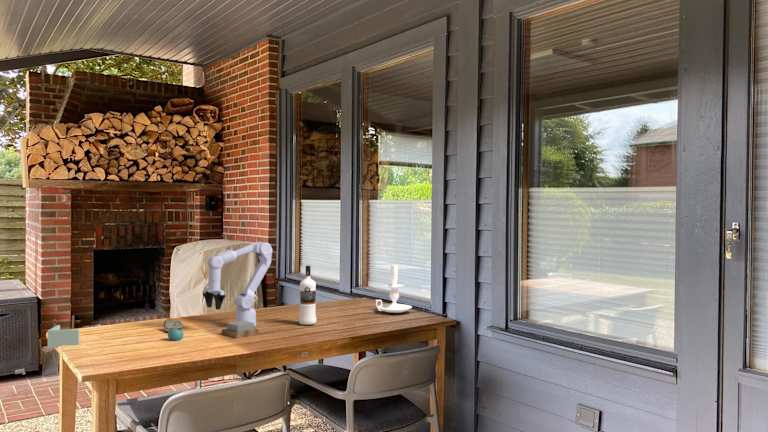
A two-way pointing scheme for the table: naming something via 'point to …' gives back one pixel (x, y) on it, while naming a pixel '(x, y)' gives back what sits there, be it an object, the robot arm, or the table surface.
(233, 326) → the gray top slab
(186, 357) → the table surface
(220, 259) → the robot arm
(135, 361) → the table surface
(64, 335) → the right angle wall
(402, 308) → the candlestick
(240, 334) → the walnut base slab
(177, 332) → the teal cylinder
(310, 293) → the vodka
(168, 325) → the rock sample
